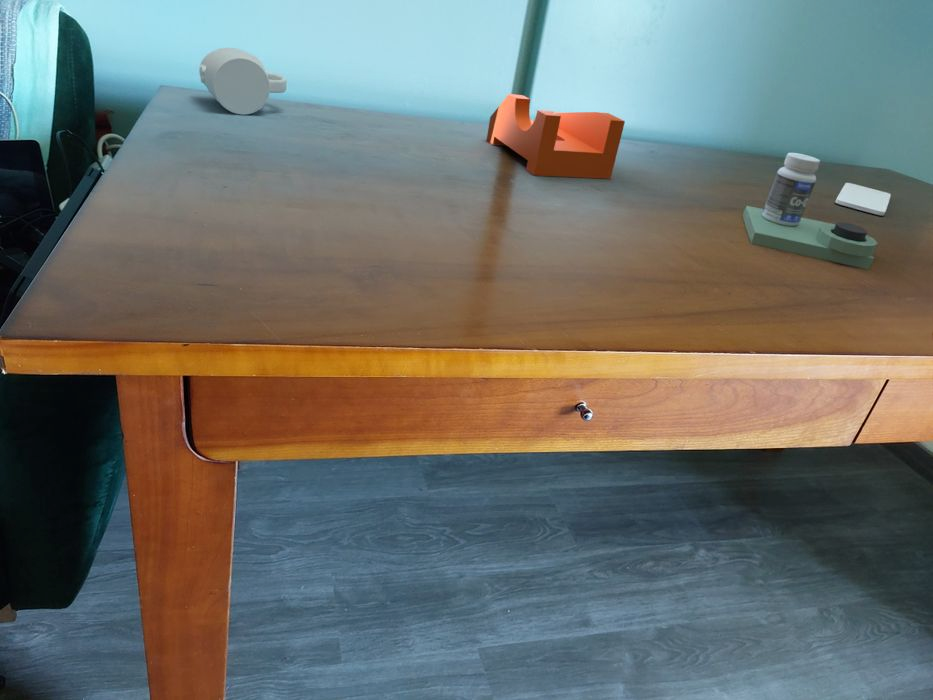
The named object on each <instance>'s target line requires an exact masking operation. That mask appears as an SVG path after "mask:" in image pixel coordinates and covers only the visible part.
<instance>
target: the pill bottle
mask: <svg viewBox="0 0 933 700" xmlns="http://www.w3.org/2000/svg"><path fill="white" fill-rule="evenodd" d="M820 164H821V160H820V159H819V158H817V157H814V156H811V155H807V154H804V153H798V152H788V153H787V154H786V156H785V159H784V162H783V165H784V166H781V167H779V169H778V170H777V172H776V175H775V177H774V181H773V183H772V185H771V188H770V190H769V193H768V197H767V199H766V202H765V205H764V207H763V209H764V210H763V213H762V215H763V217H764V218H765V219H767V220H769V221H772V222H774V223H777V224H781V225H786V226H796V225H798V224H799V222H800V220H801V217H802V218H803V214H804V212H805V209H806V207H807V205H808V202H809V199H810V197H811V195H812V192H813V189H814V187H815V185H816V182H817V177H816V174H815V173H816V172H817V171H818V170H819V166H820Z"/></svg>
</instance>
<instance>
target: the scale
mask: <svg viewBox="0 0 933 700" xmlns="http://www.w3.org/2000/svg"><path fill="white" fill-rule="evenodd" d="M763 210H764V208H759V207H754V206H750V205H745V208H744V211H743V214H742V219H743V223H744V225H745V229H746V231H747V235H748V238H749V242H750V244H751V245H756V246H760V247H765V248H769V249H774V250H778V251H783V252H786V253H791V254H796V255H800V256H801V255H802V256H806V257H809V258H814V259H819V260H823V261H827V262H832V263H837V264H842V265H845V266H846V265H847V266H850V267H855V268H860V269H864V270H870V268H871V266H872V263H873V261H874V259H875V257H874V256H873V255H874V253H875V251H876V249H877V246H878V242H877V240H875V238H874V237H871V236H869V235H867V234H866V237H865V239H864V241H863V242H857V241H852V240H848V239H844V238H842V237H839V236H837V235H835V234H833V233H832V232H833V230H834V228H835V225H836V223H835V224H834V223H830V222H824V221H822V220H821V221H820V220H817V219H816V220H815V219H810V218H807V217H803V216H802V217H801V220H800V222H799V224H798V225H796V226H786V225H781V224H777V223H774V222H772V221H769V220H767V219H765V218H764V217H763V215H762V213H763Z"/></svg>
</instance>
